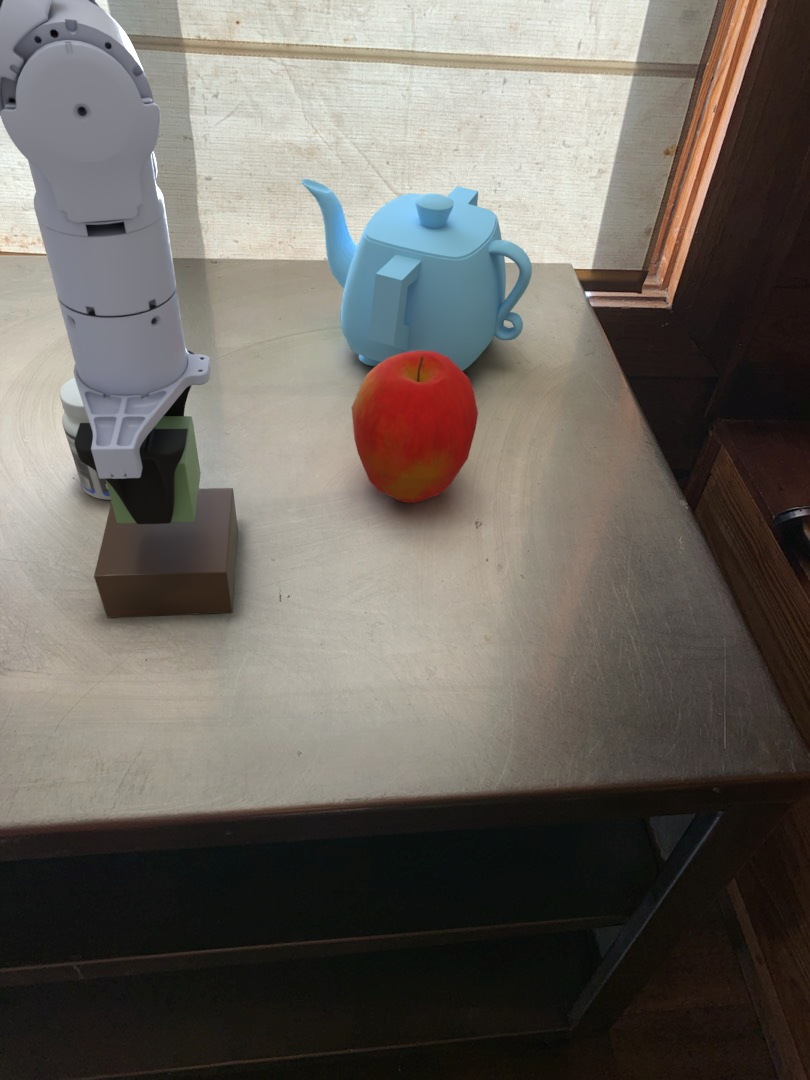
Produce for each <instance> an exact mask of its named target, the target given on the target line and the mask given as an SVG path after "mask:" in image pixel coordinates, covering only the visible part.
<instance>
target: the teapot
mask: <svg viewBox="0 0 810 1080" xmlns="http://www.w3.org/2000/svg"><path fill="white" fill-rule="evenodd" d="M300 182H301V184H302V185H303V187H304V188H305V189H307V190H308V192H309V193H310V194H311V195H312V197H314V199H315V201H316V202H317V204H318V206H319V208H320V211H321V216H322V220H323V226H324V237H325V238H324V239H325V240H324V241H325V252H326V253H325V254H326V259H327V264H328V267H329V269H330V271H331V274H332V276H333V277H334V279H335V280H336V281H337V283H338V284H339V285H340V286H341V287H342V288H343V294H342V300H341V308H340V327H341V332H342V334H343V336H344V338H345V340H346V342H347V344H348V345H349V347H350V349H351V350H352V351H353V352H354V353H355V354H357V355H358V360H359V361H360V362H361V363H362V364H364V365H367V366H370V367H371V366H372V367H376V366H377V365H378V364H379V363H381V362H383V361H384V360H386V359H387V358H389V357H392V356H395V355H398V354H401V353H405V352H412V351H434V352H437V353H439V354H441V355H444V356H446V357H448V358H449V359H450V360H451V361H452V362H453V363H454V364H455V365H456V366H457V367H458V368H459V369H460V370H461V371H462V372H464V371H465V370H466V369H467V368H469V367H470V366H471V365H472V364H473V363H474V362H475V361H476V360H477V359H478V358H479V357H480V356H481V355H482V354H483V352H484V351H485V350H486V349H487V348H488V346H489V345H490V343H491V342H492V341H493V339H494V338H496V339H497V340H500V341H513V340H516V339H517V338H518V337H519V336H520V335H521V334H522V331H523V328H524V321H523V318H522V316H521V315H520V314H518V313H517V312H514V311H512V310H513V309H514V308H515V306H516V305H517V303H518V302H519V301H520V299H521V298H522V297H523V295H524V293H525V292H526V290H527V289H528V286H529V285H530V282H531V278H532V273H533V267H532V262H531V259H530V257H529V256H528V254H527V253H526V252H525V250H524V249H523V248H522V247H521V246H520V245H518V244H516V243H514V242H512V241H509V240H505V239H502V235H501V234H502V233H501V227H500V224H499V220H498V216H497V214H496V213H494V212H493V211H492V210H491V209H488V208H485V207H482V206H481V207H480V206H478V202H479V190H475V189H471V188H467V187H462V186H458V185H456V186H455V187H454V188H453V189H452V190H451V192H450V193H449V194H448V195H444V194H441V193H424V194H421V193H405V194H403V195H399V196H397V197H395V198H393V199H391V200H390V201H388V202H387V203H385V204H384V205H382V207H380V208H379V209H377V211H376V212H375V213H374V214H373V215H372V216H371V217H370V219H369V220H368V221H367V223H366V225H365V227H364V229H363V231H362V233H361V236H360V238H359V239H358V243H357V244H356V242H355V241H354V240H353V238H352V235H351V233H350V231H349V229H348V225H347V220H346V217H345V213H344V210H343V205H342V204H341V201H340V199H339V198H338V197H337V195H336V194H335V192H334V191H332V189H330V188H329V187H328V186H327V185H325V184H323V183H320V182H318V181H316V180H312V179H309V178H302V179H301V181H300ZM505 258H508V259H509V260H511V261H512V262H514V264H515V265H516V266H517V268H518V270H519V271H518V272H519V274H518V277H517V280H516V282H515V285H514V286H513V287H512V290H511V291H510V292H509V294H508V295H507V297H506V291H507V288H506V287H507V280H506V279H507V274H506V273H507V272H506V259H505ZM511 311H512V312H511ZM505 321H507V322H510V323H511V324H512V326H511V327H507V326H505V324H504V323H505Z"/></svg>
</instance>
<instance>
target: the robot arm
mask: <svg viewBox="0 0 810 1080" xmlns="http://www.w3.org/2000/svg"><path fill="white" fill-rule="evenodd" d="M149 83H150V82H149V80H148V77H147V76H146V73H145V71H144V68H143V66H142V64H141V62H140V59H139V56H138V54H137V52H136V50H135V47H134V46H133V43H132V42H131V40H130V38H129V36H128V34H127V33H126V31H125V30H124V29H123V28H122V27H121V25H120V24H119V22H117V21H116V19H115V18H113V17H112V15H111V14H109V13H108V12H107V11H106V10H105V9H104V8H102V7H101V6H100V5H99V4H98V2H97V1H96V0H0V118H1V121H2V124H3V126H4V129H5V130H6V131H5V132H6V133H7V134H8V136H9V138H10V140H11V141H12V143H13V144H14V146H15V147H16V148H17V150H18V151H19V152H20V153H21V155H22V156H23V157H24V158H25V159H26V160H27V162H28V166H29V170H30V174H31V178H32V182H33V185H34V189H35V193H34V196H33V209H34V212H35V217H36V220H37V224H38V227H39V232H40V235H41V239H42V242H43V243H42V244H43V247H44V250H45V254H46V258H47V262H48V265H49V269H50V274H51V276H52V280H53V281H52V282H53V284H54V288H55V292H56V295H57V297H56V298H57V301H58V304H59V308H60V313H61V315H62V318H63V322H64V327H65V330H66V334H67V338H68V341H69V345H70V349H71V353H72V357H73V361H74V366H73V375H74V377H73V378H75V380H76V384H77V387H78V390H79V393H80V396H81V399H82V402H83V405H84V408H85V411H86V414H87V417H88V420H89V423H80V425H79V428H78V431H77V434H76V438H75V442H74V444H75V448H76V451H77V454H78V456H79V458H80V460H81V461H82V462H83V463H85V464H86V465H88V466H89V467H91V468H92V469H94V470H95V471H96V472H97V473H98V477H99V478H100V479H105V480H106V481H107V482H108V483H109V484H110V485H111V486H112V487H113V489H114V490H115V491H116V493H117V494H118V496H119V497H120V499H121V500H122V502H123V504H124V505H125V507H126V508H127V510H128V512H129V513H130V515H131V516H132V518H133V519H134V520H135V522H136V523H137V524H169V523H171V520H172V516H173V509H174V497H175V470H176V468H177V465H178V464H179V462H180V460H181V458H182V455H183V452H184V449H185V445H186V439H187V432H188V429H155V426H156V424H157V423H158V422H159V421H160V420H161V418H162V417H163V416H185V410H186V403H187V399H188V396H189V393H190V391H191V388H192V387H193V386H202V385H206V384H207V383H209V380H210V378H211V377H210V376H211V370H212V369H211V361H210V357H209V356H207V355H204V354H195V353H194V352H192V351H190V350H188V349H187V348H186V343H185V342H186V341H185V335H184V329H183V323H182V315H181V309H180V303H179V296H178V289H177V280H176V273H175V267H174V261H173V260H174V259H173V254H172V253H173V252H172V248H171V247H172V246H171V239H170V233H169V227H168V219H167V213H166V206H165V199H164V195H163V193H162V191H161V189H160V188H159V186H158V185H157V179H158V177H157V176H158V163H157V159H156V155H155V152H154V150H155V148H156V144H157V142H158V139H159V134H160V130H161V129H160V128H161V108H160V106H159V105H158V104H156V103H155V102H154V97H153V92H152V90H151V86H150V84H149Z"/></svg>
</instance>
